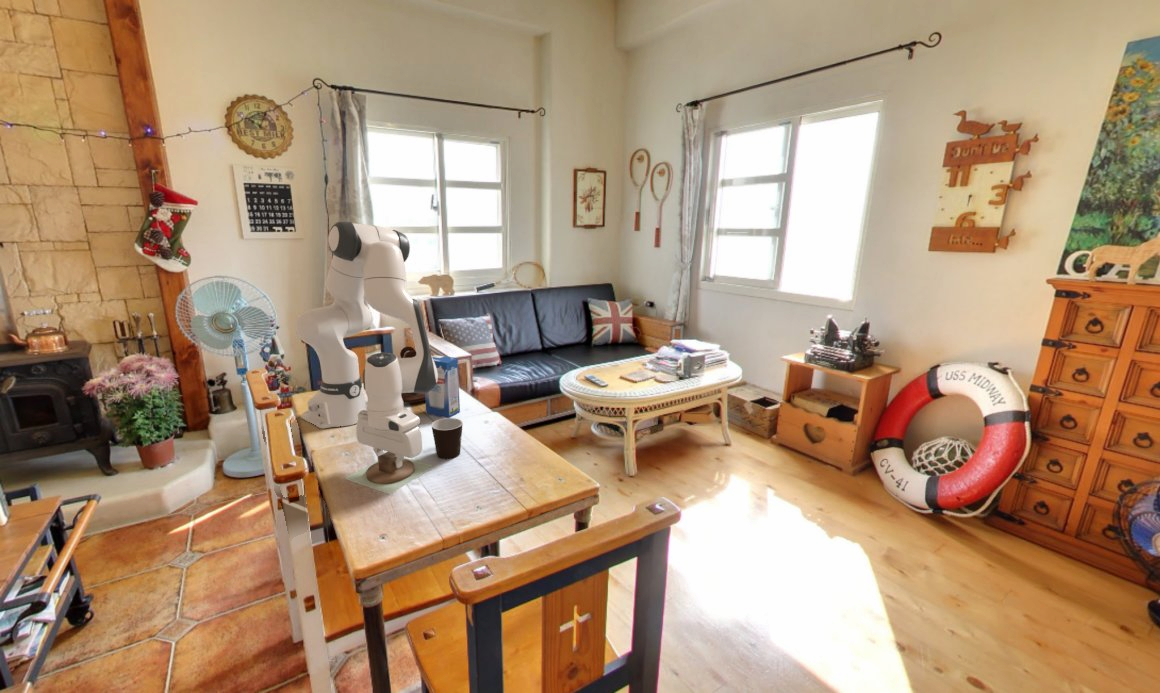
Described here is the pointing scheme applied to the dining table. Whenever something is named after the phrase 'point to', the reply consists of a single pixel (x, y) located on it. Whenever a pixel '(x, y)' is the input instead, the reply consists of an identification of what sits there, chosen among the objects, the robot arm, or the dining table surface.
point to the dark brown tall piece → (412, 397)
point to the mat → (392, 487)
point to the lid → (389, 470)
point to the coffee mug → (447, 437)
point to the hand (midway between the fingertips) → (390, 464)
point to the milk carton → (444, 389)
